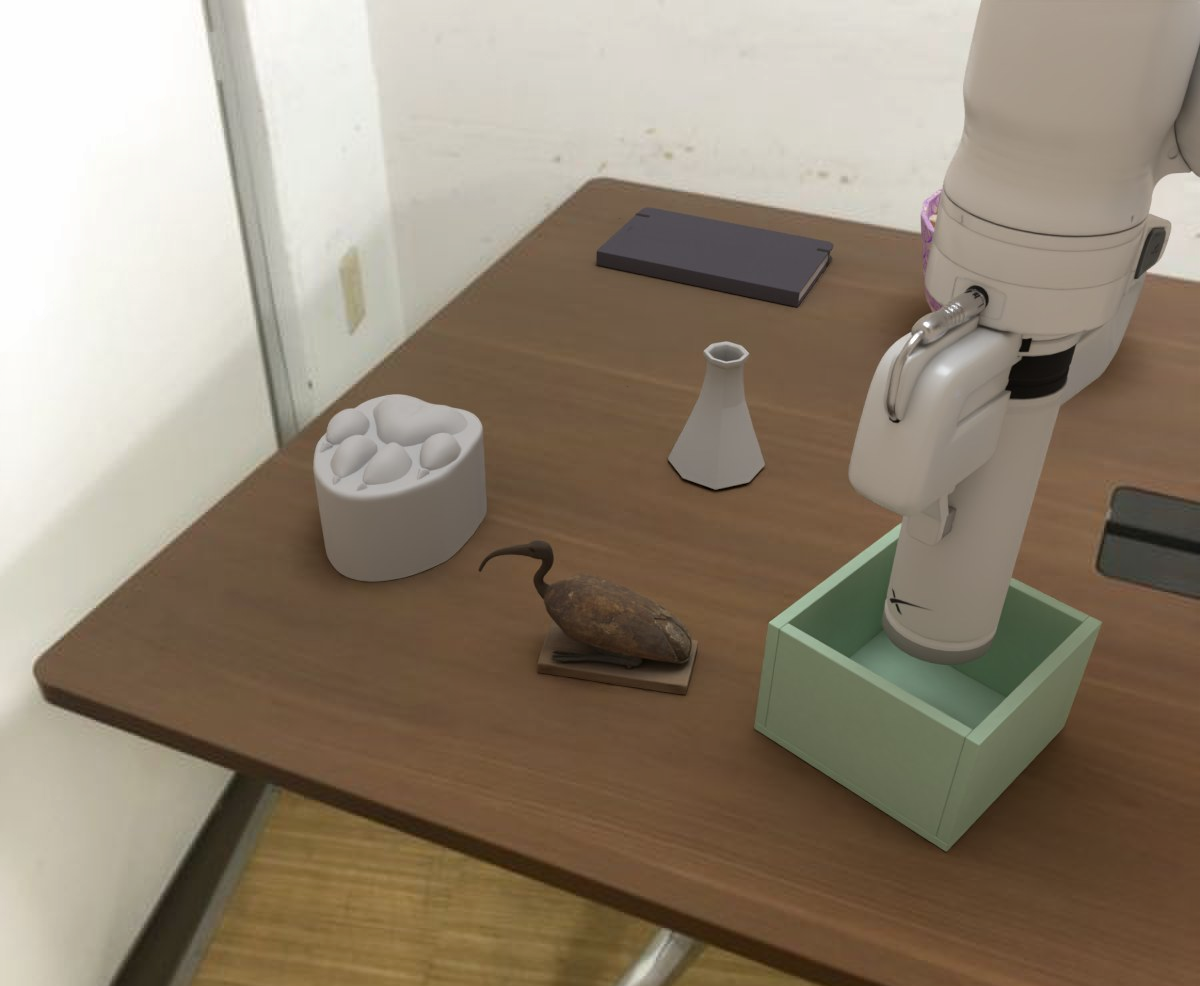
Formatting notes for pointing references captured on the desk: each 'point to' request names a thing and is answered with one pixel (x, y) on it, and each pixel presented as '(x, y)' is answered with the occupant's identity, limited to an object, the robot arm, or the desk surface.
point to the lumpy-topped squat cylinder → (399, 486)
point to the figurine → (607, 630)
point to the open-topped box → (918, 697)
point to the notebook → (717, 255)
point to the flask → (719, 425)
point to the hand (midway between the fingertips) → (966, 505)
